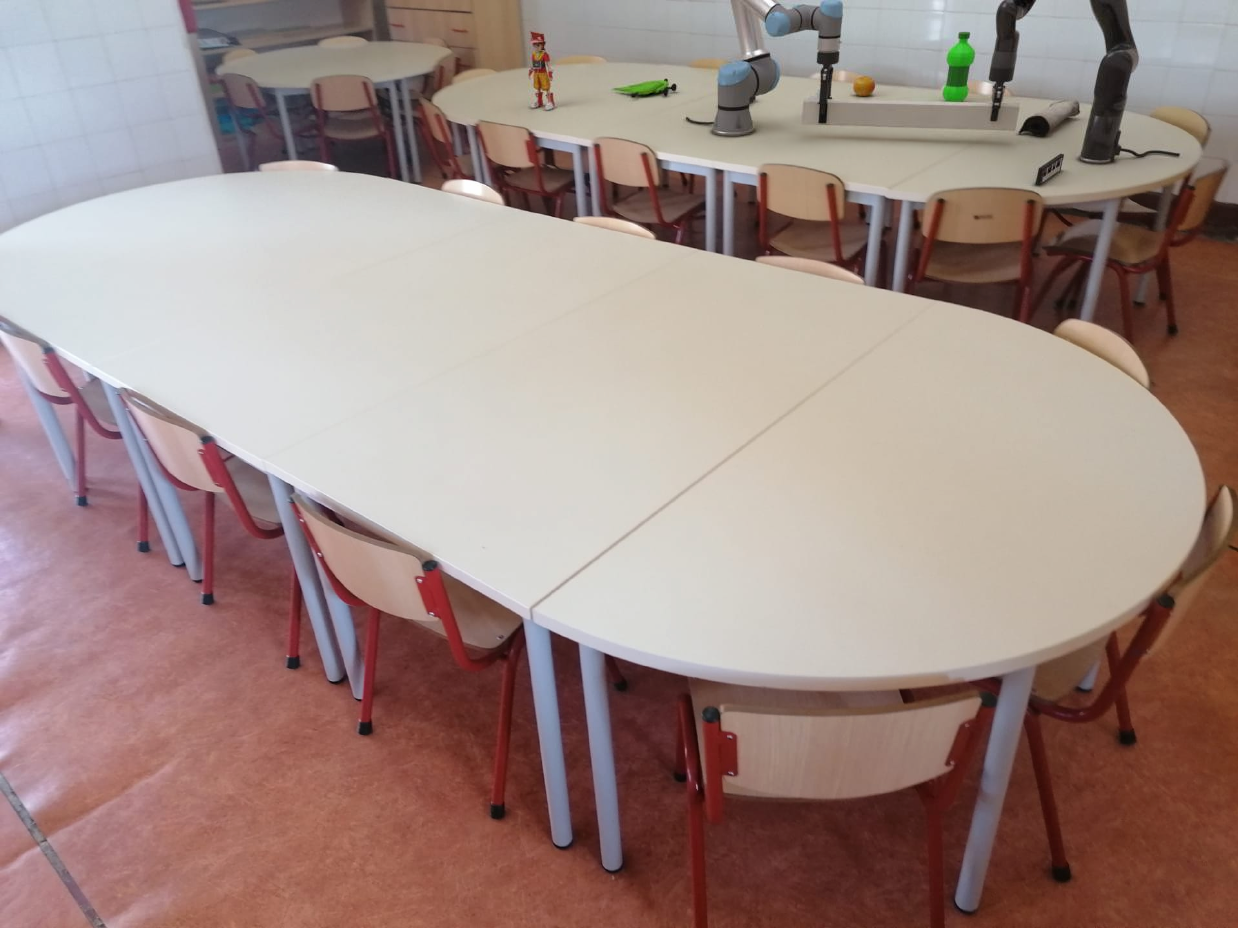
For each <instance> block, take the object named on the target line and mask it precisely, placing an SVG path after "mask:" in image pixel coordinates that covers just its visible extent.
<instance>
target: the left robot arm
mask: <svg viewBox="0 0 1238 928" xmlns="http://www.w3.org/2000/svg"><path fill="white" fill-rule="evenodd" d="M730 5H731V10H732V14H733V19H734V25H735V29H736V34H737V39H738V43H739V48H740V49H739V50H740V53H741V57H740V58H739V60H738V61H731V62H728V63H724V64H723V65H722V66H720V67H719V68H718V73H717V74H718V75H717V111H716V114H715V118H714V120H713V121H698V120H694V119H691V118H690V117H688V116H686V117H685V119H686V120H687V121H688V122H689V123H692V124H697V125H706V126H709V125H712V133H713V134H715V135H717V136H721V137H741V136H746V135H750V134H752V133H754V119H753V118H752V115H751V111H750V103H749V98H751V97H755V96H756V97H758V96H761V95H766V94H768V93H769V92H772V91H774V90H775V89H776V88H777V86H778V84H779V82H780V78H781V69H780V66H779V63H778V62H777V61H776V60H775V59H774V58H772V56H771V52H770V51H769V50H768V49H766V47H765V43H764V38H763V34H762V28H761V22H760V21H762V22H763V23H764V27H765V31H766V32H767V34H768V35H769V36H770V37H772V38H777V37H779V38H780V37H785V36H788V35H791V34H795V33H799V32H804V31H815V32H818V34H817V35H818V37H817V52H816V64H818V65H822V68H821V69H820V73H819V74H820V84H819V85H820V86H819V90H820V99H819V103H818V104H820V107H819V122H818V123H826V121H827V108H828V104H827V103H828V102H827V100H828V99H833V97H832V84H833V83H832V82H833V74H834V66H833V65H837V64H838V63H839V62H840V51H839V50H840V49H841V44H842V43H843V40H842V39H841V36H842V24H843V16H844V14H843V11H844V6H843V5H844V3H843V1H842V0H822V1H821V2H820V5H811V4H810V5H809V4H805V3H803V4H795V5H793V6H792V8H789V9H787V8H786V7H784V5H782V4H781V3H780V2H778V0H730Z"/></svg>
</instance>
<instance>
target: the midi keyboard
mask: <svg viewBox="0 0 1238 928" xmlns="http://www.w3.org/2000/svg"><path fill="white" fill-rule="evenodd" d="M1064 157H1065V153H1059V154H1058V155H1056V156H1055V157H1052V159H1051V160H1049V161H1047V162H1045V164H1042V165H1041V166H1039V167H1038V169H1037V175H1036V179H1035V186H1040V185H1042V183H1044V182H1045V181H1047V180H1048V179H1049V178H1051V177H1052V176H1054V175H1055V174H1056V173H1058V172H1060V171H1061V170H1062V165H1063V161H1064Z"/></svg>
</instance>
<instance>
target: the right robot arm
mask: <svg viewBox="0 0 1238 928" xmlns="http://www.w3.org/2000/svg"><path fill="white" fill-rule="evenodd" d="M1036 1H1037V0H1002V1H1001V2H1000V3H999V5H998V7H997V9H996V12H995V31H996V38H995V43H994V48H993V49H994V50H993V53H992V58H991V61H990V68H989V74H988V81H989V82H991V83H994V85H992V88H991V103H993V104H992V112H991V118H990V121H997V118H998V113H999V109H1000V108H1001V103H1003V101H1004V95H1005V93H1006V89H1007V88H1006V85H1005V83H1010V82H1012V81H1013V80H1014V75H1015V69H1016V64H1017V57H1018V48H1019V44H1020V43H1019V42H1020V37H1021V36H1020V35H1021V34H1020V31H1019V30H1018V29H1017V21H1020V20H1022V19H1023V18H1024V17H1025V16H1027V15H1028V13H1030V11H1031V9H1032V8H1033V6H1034V5H1035V3H1036ZM1089 4H1090V8H1091V11H1092V13H1093V16H1094V18H1095V20H1096V22H1097V24H1098V25H1099V28H1100V30H1101V32H1102V35H1103V39H1104V46H1105V55H1104V56H1103V57H1102V58H1101V61H1100V62H1099V66H1098V70H1097V74H1096V78H1095V84H1094V89H1093V100H1092V103H1091V108H1090V113H1089V117H1088V121H1087V125H1086V130H1085V134H1084V137H1083V142H1082V145H1081V151H1080V154H1079V156H1078V157H1079V158H1078V159H1079V160H1080V161H1082V162H1084V163H1088V164H1097V165H1100V164H1108V163H1114V161H1115V158H1116V157H1117V156H1118V157H1119V156H1120V155H1121V152H1124V153H1129V154H1130V155H1133V156H1134V157H1137V158H1142V157H1145V156H1147V155H1150V154H1158V155H1159V154H1160V155H1167V156H1173V157H1180V155H1181V153H1179V152H1172V151H1166V150H1157V149H1155V150H1154V149H1153V150H1152V149H1151V150H1147V151H1145V152H1143V153H1138V152H1136V151H1134V150H1132V149H1129V148H1125V147H1122V145H1120V144H1119V142H1120V138H1121V134H1122V130H1120V128H1121V125H1122V121H1123V116H1124V112H1125V109H1126V104H1127V102H1128V98H1129V97H1128V95H1129V94H1128V88H1129V85H1130V84H1129V83H1130V81H1131V80H1130V79H1131V75H1132V74H1133V73H1134V72H1135V71H1136V70H1137V67H1138V65H1139V62H1140V55H1139V50H1138V48H1137V45H1136V42H1135V38H1134V35H1133V32H1132V28H1131V24H1130V17H1129V16H1130V15H1129V8H1128V2H1127V0H1089ZM995 103H999V105H994V104H995Z"/></svg>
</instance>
